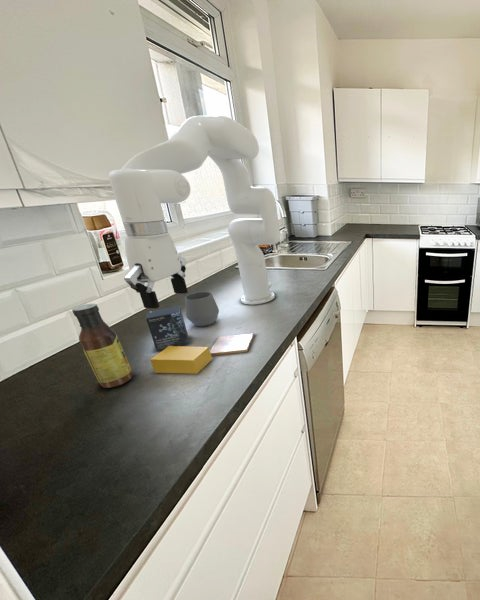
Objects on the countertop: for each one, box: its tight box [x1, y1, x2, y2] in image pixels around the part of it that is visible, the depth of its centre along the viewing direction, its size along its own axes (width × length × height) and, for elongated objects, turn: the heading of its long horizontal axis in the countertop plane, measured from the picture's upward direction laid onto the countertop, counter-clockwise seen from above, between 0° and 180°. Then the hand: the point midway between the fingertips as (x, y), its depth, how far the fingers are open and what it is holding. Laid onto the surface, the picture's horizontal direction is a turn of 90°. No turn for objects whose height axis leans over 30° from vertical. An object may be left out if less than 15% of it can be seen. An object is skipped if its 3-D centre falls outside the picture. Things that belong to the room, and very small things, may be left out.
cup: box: [184, 291, 220, 327], centre depth 104 cm, size 10×9×10 cm
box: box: [145, 305, 190, 352], centre depth 91 cm, size 8×6×11 cm
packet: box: [149, 345, 213, 375], centre depth 81 cm, size 6×11×4 cm, turn 88°
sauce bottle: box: [71, 303, 133, 389], centre depth 72 cm, size 7×6×20 cm
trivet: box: [209, 332, 255, 357], centre depth 92 cm, size 10×10×1 cm
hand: (167, 300), depth 76 cm, fingers open, 9 cm apart
